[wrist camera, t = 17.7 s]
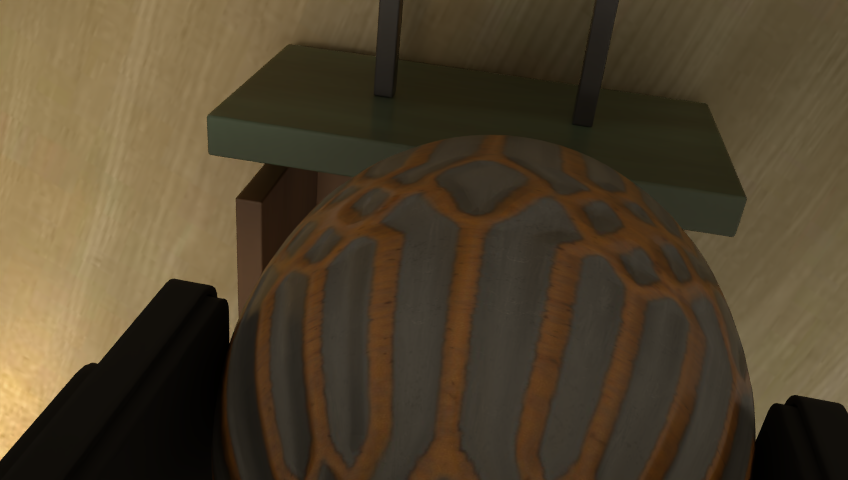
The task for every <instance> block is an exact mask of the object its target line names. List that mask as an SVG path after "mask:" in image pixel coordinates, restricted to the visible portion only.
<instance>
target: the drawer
mask: <svg viewBox="0 0 848 480" xmlns="http://www.w3.org/2000/svg"><path fill="white" fill-rule="evenodd" d="M618 2H619V0H595V3H594V8H593V14H592V19H591V24H590V29H589V34H588V39H587V44H586V49H585V54H584V60H583V65H582V70H581V75H580V80H579V85H573V84H566V83H559V82H552V81H545V80H538V79H531V78H524V77H517V76H510V75H503V74H496V73H489V72H482V71H475V70H468V69H461V68H454V67H447V66H439V65H432V64H425V63H418V62H411V61H404V60H399V48H400V35H401V23H402V10H403V0H380V2H379V17H378V32H377V47H376V56H369V55H362V54H355V53H348V52H341V51H334V50H327V49H320V48H313V47H306V46H299V45H292V44H289V45H287V46H286V47H285V48H284V49H283V50H282V51H280V52H279V53H278V54H277V55H276V56H275V57H274V58H272V59H271V60H270V61H269V62H268V63H267V64H266V65H264V66H263V67H262V68H261V69H260V70H259V71H258V72H256V73H255V74H254V75H253V76H252V77H251V78H250V79H248V80H247V81H246V82H245V83H244V84H243V85H242V86H240V87H239V88H238V89H237V90H236V91H235V92H234V93H232V94H231V95H230V96H229V97H228V98H227V99H226V100H224V101H223V102H222V103H221V104H220V105H219V106H218V107H216V108H215V109H214V110H213V111H212V112H211V113H210V114H208V116H207V131H208V152H209V154H210V155H215V156H222V157H228V158H234V159H241V160H247V161H253V162H260V163H265V164H264V166H263V167H262V168H261V169H260V170H259V172H258V173H257V174H256V175H255V176H254V178H253V179H252V180H251V181H250V182H249V184H248V185H247V186H246V187H245V188H244V189H243V191H242V192H241V193H240V194H239V195H238V197H237V198H236V226H237V268H238V309H239V316H240V314H241V312H242V310H243V307H244V305H245V303H246V301H247V299H248V297H249V296H250V294H251V292H252V290H253V289H254V287H255V285H256V283H257V282H258V280H259V278H260V276H261V275H262V273H263V271H264V269H265V268H266V266H267V265H268V264H269V262H270V261H271V259H272V258H273V257H274V255H275V254H276V252H277V251H278V250H279V248H280V247H281V246H282V244H283V243H284V241H285V240H286V239H287V237H288V236H289V235H290V234H291V233H292V232H293V230H294V229H295V228H296V227H297V226H298V225H299V224H300V223H301V221H302V220H303V219H304V218H305V217H306V216H307V215H308V214H309V213H310V212H311V211H312V210H313V209H314V208H315V207H316V206H317V205H318V204H319V203H320V202H321V201H322V200H323V199H324V198H325V197H326V196H328V195H329V194H330V193H331V192H333V191H334V190H335V189H336V188H338V187H339V186H341V185H342V184H344V183H345V182H347V181H348V180H350V179H351V178H353V177H354V176H356V175H357V174H359V173H360V172H362V171H363V170H365V169H367V168H369V167H370V166H372V165H374V164H376V163H378V162H379V161H382V160H384V159H386V158H388V157H390V156H393V155H395V154H397V153H400V152H403V151H406V150H409V149H411V148H414V147H417V146H420V145H423V144H427V143H431V142H434V141H438V140H443V139H448V138H454V137H462V136H471V135H508V136H518V137H526V138H531V139H537V140H542V141H546V142H550V143H553V144H557V145H561V146H564V147H567V148H569V149H572V150H575V151H578V152H580V153H582V154H585V155H587V156H589V157H592V158H594V159H596V160H598V161H600V162H601V163H603V164H605V165H607V166H609V167H610V168H612V169H614V170H615V171H617V172H618V173H620V174H622V175H623V176H625V177H626V178H627V179H629V180H630V181H631V182H633V183H634V184H636V185H637V186H638V187H640V188H641V189H642V190H644V191H645V192H646V193H648V194H649V195H650V196H651V197H652V198H653V199H654V200H656V201H657V202H658V203H659V204H660V205H661V206H662V207H663V208H664V209H665V210H666V211H667V212H668V213H669V214H670V215H671V216H672V217H673V219H674V220H675V221H676V222H677V223H678V224H679V226H680V227H681V228H682V229H685V230H691V231H697V232H704V233H710V234H716V235H723V236H729V237H734V236H735V234H736V232H737V228H738V225H739V222H740V219H741V216H742V213H743V210H744V207H745V204H746V201H747V197H746V195H745V193H744V190H743V188H742V185H741V183H740V181H739V178H738V176H737V173H736V171H735V169H734V166H733V164H732V162H731V159H730V157H729V154H728V152H727V150H726V147H725V145H724V142H723V140H722V138H721V135H720V133H719V131H718V128H717V126H716V123H715V121H714V119H713V116H712V114H711V112H710V109H709V107H708V105H707V104H706V103H699V102H692V101H685V100H678V99H671V98H664V97H657V96H650V95H643V94H636V93H629V92H622V91H615V90H608V89H601V83H602V79H603V74H604V69H605V64H606V60H607V55H608V50H609V45H610V40H611V36H612V31H613V26H614V21H615V17H616V12H617V7H618Z"/></svg>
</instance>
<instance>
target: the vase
mask: <svg viewBox="0 0 848 480" xmlns="http://www.w3.org/2000/svg"><path fill="white" fill-rule="evenodd" d="M754 460H755V413H754V401H753V392H752V387H751V382H750V377H749V373H748V368H747V364H746V359H745V354H744V350H743V347H742V344H741V341H740V338H739V335H738V332H737V329H736V326H735V323H734V320H733V317H732V314H731V312H730V309H729V307H728V305H727V302H726V300H725V298H724V295H723V293H722V291H721V289H720V287H719V285H718V283H717V281H716V279H715V277H714V275H713V273H712V271H711V269H710V267H709V265H708V264H707V262H706V260H705V259H704V257H703V256H702V254H701V253H700V251H699V250H698V248H697V247H696V245H695V244H694V243H693V241H692V240H691V239H690V238H689V237H688V235H687V234H686V233H685V232H684V230H683V229H682V228H681V227H680V226H679V224H678V223H677V222H676V221H675V220H674V219H673V217H672V216H671V215H670V214H669V213H668V212H667V211H666V210H665V209H664V208H663V207H662V206H661V205H660V204H659V203H658V202H657V201H656V200H654V199H653V198H652V197H651V196H650V195H649V194H648V193H646V192H645V191H644V190H642V189H641V188H640V187H638V186H637V185H636V184H634V183H633V182H631V181H630V180H629V179H627V178H626V177H625V176H623V175H622V174H620V173H618V172H617V171H615V170H614V169H612V168H610V167H609V166H607V165H605V164H603V163H601V162H600V161H598V160H596V159H594V158H592V157H589V156H587V155H585V154H582V153H580V152H578V151H575V150H572V149H569V148H567V147H564V146H561V145H557V144H553V143H550V142H546V141H542V140H537V139H531V138H526V137H518V136H508V135H471V136H462V137H454V138H448V139H443V140H438V141H434V142H431V143H427V144H423V145H420V146H417V147H414V148H411V149H409V150H406V151H403V152H400V153H397V154H395V155H393V156H390V157H388V158H386V159H384V160H382V161H379V162H378V163H376V164H374V165H372V166H370V167H369V168H367V169H365V170H363V171H362V172H360V173H359V174H357V175H356V176H354V177H353V178H351V179H350V180H348V181H347V182H345V183H344V184H342V185H341V186H339V187H338V188H336V189H335V190H334V191H333V192H331V193H330V194H329V195H328V196H326V197H325V198H324V199H323V200H322V201H321V202H320V203H319V204H318V205H317V206H316V207H315V208H314V209H313V210H312V211H311V212H310V213H309V214H308V215H307V216H306V217H305V218H304V219H303V220H302V221H301V223H300V224H299V225H298V226H297V227H296V228H295V229H294V230H293V232H292V233H291V234H290V235H289V236H288V237H287V239H286V240H285V241H284V243H283V244H282V246H281V247H280V248H279V250H278V251H277V252H276V254H275V255H274V257H273V258H272V259H271V261H270V262H269V264H268V265H267V266H266V268H265V269H264V271H263V273H262V275H261V276H260V278H259V280H258V282H257V283H256V285H255V287H254V289H253V290H252V292H251V294H250V296H249V297H248V299H247V301H246V303H245V305H244V307H243V310H242V312H241V314H240V316H239V319H238V322H237V324H236V327H235V330H234V332H233V335H232V338H231V341H230V344H229V347H228V350H227V353H226V357H225V362H224V366H223V370H222V374H221V379H220V383H219V388H218V394H217V401H216V407H215V414H214V424H213V437H212V480H753V473H754Z"/></svg>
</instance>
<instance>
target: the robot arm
mask: <svg viewBox="0 0 848 480" xmlns="http://www.w3.org/2000/svg"><path fill="white" fill-rule="evenodd" d="M228 347H229V306H228V302H227V300H225V299H221V298H217V292H216V289H215V288H214V287H213V286H210V285H205V284H200V283H194V282H189V281H184V280H178V279H171V280H169V281H168V282H167V283H166V284H165V285H164V286H163V287H162V289H161V290H160V291H159V292H158V293H157V294H156V296H155V297H154V298H153V299H152V300H151V302H150V303H149V304H148V305H147V306H146V308H145V309H144V310H143V311H142V312H141V314H140V315H139V316H138V317H137V318H136V319H135V321H134V322H133V323H132V324H131V325H130V327H129V328H128V329H127V330H126V331H125V333H124V334H123V335H122V336H121V337H120V338H119V340H118V341H117V342H116V343H115V344H114V346H113V347H112V348H111V349H110V350H109V352H108V353H107V354H106V355H105V356H104V357H103V359H102V360H101V361H100V362H99V363H98V364H96V363H90V364H88V365H85V366H84V367H83V368H81V369H80V370H79V371H78V372H77V373H76V374H75V375H74V376H73V377H72V379H71V380H70V381H69V382H68V383H67V384H66V386H65V387H64V388H63V389H62V390H61V391H60V392H59V394H58V395H57V396H56V397H55V398H54V399H53V401H52V402H51V403H50V404H49V405H48V406H47V407H46V409H45V410H44V411H43V412H42V413H41V414H40V416H39V417H38V418H37V419H36V420H35V421H34V422H33V424H32V425H31V426H30V427H29V428H28V429H27V431H26V432H25V433H24V434H23V435H22V436H21V438H20V439H19V440H18V441H17V442H16V443H15V444H14V446H13V447H12V448H11V449H10V450H9V451H8V453H7V454H6V455H5V456H4V457H3V458H2V459H1V461H0V480H212V437H213V424H214V414H215V407H216V401H217V394H218V388H219V383H220V379H221V374H222V370H223V366H224V362H225V357H226V353H227V350H228ZM753 480H848V413H847V411H846V409H845V408H844V406H843V405H841V404H839V403H835V402H830V401H824V400H819V399H814V398H808V397H803V396H798V395H793V396H791V397H790V398H789V399H788V400H787V401H786V403H785V405H783V404H778V403H775V404H773V405H772V406H771V407H770V409H769V411H768V413H767V415H766V418H765V420H764V423H763V425H762V427H761V430H760V432H759V435H758V437H757V439H756V442H755V460H754V473H753Z"/></svg>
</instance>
